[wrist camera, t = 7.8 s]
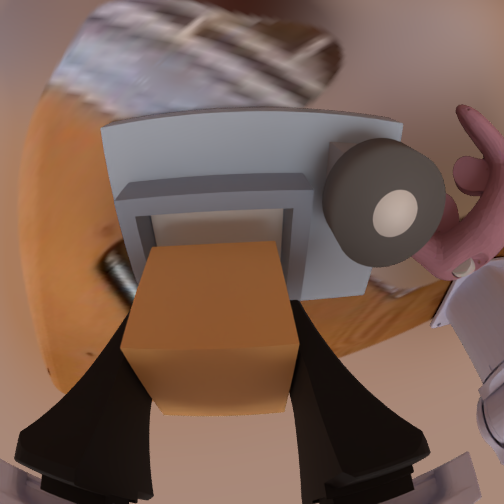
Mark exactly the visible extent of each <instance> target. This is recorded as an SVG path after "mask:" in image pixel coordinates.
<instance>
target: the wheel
mask: <svg viewBox="0 0 504 504" xmlns="http://www.w3.org/2000/svg"><path fill="white" fill-rule="evenodd" d="M445 201H446V192H445V185H444V180H443V178H442V175H441V173H440V171H439V170H438V168H437V166H436V165H435V164H434V163H433V162H432V161H431V160H430V159H429V158H427V157H426V156H424V155H423V154H421V153H419V152H417V151H416V150H414V149H412V148H411V147H409V146H407V145H405V144H403V143H402V142H399V141H397V140H394V139H389V138H374V139H369V140H366V141H363V142H361V143H358V144H357V145H355V146H353V147H351V148H350V149H349V150H348V151H346V152H345V153H344V154H343V155H342V156H341V157H340V158H339V159H338V160H337V162H336V163H335V164H334V166H333V167H332V169H331V170H330V172H329V174H328V177H327V179H326V182H325V185H324V189H323V194H322V207H323V213H324V217H325V219H326V222H327V224H328V226H329V227H330V229H331V231H332V233H333V235H334V236H335V238H336V240H337V242H338V244H339V245H340V247H341V249H342V251H343V252H344V253H345V254H346V255H347V256H348V257H349V258H350V259H351V260H353V261H354V262H356V263H358V264H361V265H364V266H367V267H386V266H390V265H395V264H397V263H400V262H402V261H404V260H406V259H408V258H409V257H411V256H413V255H414V254H415V253H417V252H418V251H419V250H420V249H421V248H422V247H424V245H425V244H426V243H427V242H428V241H429V240H430V238H431V237H432V236H433V234H434V233H435V231H436V229H437V228H438V226H439V223H440V221H441V219H442V216H443V212H444V208H445Z"/></svg>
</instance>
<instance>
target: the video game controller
mask: <svg viewBox="0 0 504 504" xmlns="http://www.w3.org/2000/svg"><path fill="white" fill-rule="evenodd" d="M456 114H457V116H458V119H459V121H460V123H461V125H462V126H463V128H464V129H465V131H466V132H467V134H468V135H469V137H470V138H471V139H472V141H473V142H474V144H475V145H476V146H477V148H478V149H479V150H480V151H481V153H482V154H483V157H484V158H483V159H477V158H474V157H470V156H463V157H461V158H459V159H458V160H457V161H456V163H455V165H454V168H453V177H454V180H455V183H456V185H457V187H458V189H459V190H460V191H461V192H463V193H464V194H467V195H470V196H480V199H479V200H478V202H477V203H476V205H475V206H474V207H473V209H472V210H471V211H470V212H469V213H468V214H467V216H466V217H465V218H464V219H463V220H462V221H461V222H460V221H459V214H458V209H457V206H456V203H455V202H454V200H453V199H452V197H451V196H450V195H448V194H446V201H445V208H444V212H443V216H442V219H441V221H440V223H439V226H438V228H437V229H436V231H435V233H434V234H433V236H432V237H431V238H430V240H429V241H428V242H427V243H426V244H425V245H424V247H422V248H421V249H420V250H419V251H418V252H417V253H415V254H414V255H413V256H412V257H413V258H414V259H415V260H416V261H417V262H418V263H420V264H421V265H422V266H423V267H424V268H426V269H427V270H428V271H429V272H430V273H431V274H432V275H434V276H435V277H437V278H439V279H442V280H449V281H451V280H457V279H460V278H462V277H465V276H467V275H470V274H472V273H473V272H474V271H476V270H478V269H479V268H481V267H483V266H484V265H485V264H487V263H488V262H489V261H490V260H492V259H493V258H494V257H495V256H496V255H497V254H498V253H499V252H500V251H501V249H502V248H503V247H504V137H503V136H502V135H501V134H500V133H499V131H498V130H497V129H496V128H495V127H494V126H493V125H492V124H491V123H490V122H489V121H488V120H487V119H486V118H485V117H484V116H483V115H482V114H481V113H479V112H478V111H477V110H475V109H473V108H472V107H469V106H466V105H459V106H457V108H456Z"/></svg>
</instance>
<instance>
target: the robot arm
mask: <svg viewBox="0 0 504 504" xmlns="http://www.w3.org/2000/svg"><path fill="white" fill-rule="evenodd" d="M290 304H291V308H292V313H293V317H294V321H295V326H296V330H297V334H298V339H299V343H300V344H299V349H298V354H297V358H296V363H295V368H294V372H293V377H292V381H291V386H290V390H289V393H290V397H291V402H292V406H293V412H294V418H295V426H296V435H297V444H298V454H299V465H300V478H301V497H302V504H316V503H319V504H474V503H475V502H477V501H478V500H479V499H481V497H482V496H481V493H480V488H479V485H478V481H477V477H476V474H475V470H474V467H473V464H472V461H471V457H470V454H469V452H465V453H464V454H462V455H460V456H458V457H456V458H455V459H453V460H451V461H449V462H447V463H445V464H443V465H441V466H439V467H437V468H435V469H433V470H431V471H429V472H427V473H424V474H422V475H420V476H418V477H416V478H414V479H412V477H411V473H413V472H414V470H413V466H412V464H414V463H416V462H418V461H420V460H422V459H424V458H425V457H427V456H428V455H429V454H430V449H429V446H428V443H427V440H426V438H425V436H424V434H423V432H422V431H421V430H420V429H418V428H416V427H415V426H413V425H412V424H410V423H409V422H407V421H406V420H404V419H403V418H401V417H400V416H398V415H397V414H396V413H394V412H393V411H392V410H390V409H389V408H387V406H385V405H384V404H383V403H382V402H381V401H380V400H378V399H377V398H376V397H375V396H373V394H371V393H370V392H369V391H368V390H367V389H366V388H365V387H364V386H363V385H362V384H361V383H360V382H359V381H358V380H357V379H356V378H355V377H354V376H353V375H352V374H351V373H350V372H349V371H348V369H347V368H346V367H345V366H344V365H343V364H342V363H341V361H340V360H339V359H338V358H337V356H336V355H335V354H334V353H333V351H332V350H331V349H330V347H329V346H328V345H327V343H326V342H325V341H324V339H323V338H322V336H321V335H320V334H319V332H318V331H317V329H316V328H315V326H314V325H313V323H312V322H311V320H310V318H309V317H308V315H307V313H306V312H305V310H304V308H303V307H302V305H301V303H300V301H298V300H290ZM130 311H131V310H130ZM129 314H130V312H129V313H128V314H127V316H126V317H125V319H124V320H123V322H122V323H121V325H120V326H119V328H118V329H117V331H116V332H115V334H114V335H113V337H112V338H111V339H110V341H109V342H108V344H107V345H106V347H105V348H104V349H103V351H102V352H101V354H100V355H99V356H98V358H97V359H96V360H95V362H94V363H93V364H92V366H91V367H90V368H89V369H88V371H87V372H86V373H85V374H84V375H83V377H82V378H81V379H80V380H79V381H78V382H77V383H76V385H75V386H74V387H73V388H72V389H71V390H70V391H69V392H68V393H67V394H66V395H65V396H64V397H63V398H62V399H61V400H60V401H59V402H58V403H57V404H56V405H55V406H53V407H52V408H51V409H50V410H49V411H48V412H47V413H45V414H44V415H43V416H42V417H40V418H39V419H38V420H37V421H35V422H34V423H33V424H31V425H30V426H28V427H27V428H25V429H24V430H22V431H21V432H20V434H19V438H18V443H17V447H16V453H15V457H14V459H15V461H16V462H18V463H20V464H22V465H24V466H26V467H28V468H30V469H32V470H34V471H36V472H38V473H40V474H42V479H40V478H38V477H36V476H33V475H31V474H29V473H27V472H25V471H23V470H21V469H19V468H16V467H14V466H12V465H11V464H9V463H7V462H5V461H4V460H2V459H0V504H129V502H132V503H137V500H138V499H142V500H149V499H151V498H152V497H153V496H154V494H153V488H152V480H151V470H150V455H149V454H150V453H149V424H150V423H149V422H150V409H151V403H152V398H151V396H150V395H149V393H148V392H147V390H146V389H145V387H144V386H143V384H142V383H141V381H140V380H139V378H138V377H137V375H136V373H135V372H134V370H133V369H132V367H131V365H130V364H129V362H128V360H127V359H126V357H125V355H124V354H123V352H122V350H121V349H120V346H121V343H122V339H123V335H124V332H125V328H126V325H127V321H128V318H129ZM448 324H451V326H452V327H453V329H454V330H455V332H456V334H457V336H458V337H459V339H460V341H461V343H462V344H463V346H464V348H465V350H466V352H467V353H468V355H469V357H470V359H471V361H472V363H473V365H474V367H475V369H476V371H477V373H478V375H479V377H480V378H481V381H482V383H483V384H484V385H483V386H482V387H481V388H479V390H478V391H479V393H480V396H481V397H480V398H479V401H478V404H477V424H478V428H479V431H480V433H481V435H482V437H483V439H484V440H485V441H486V443H488V444H489V445H490V446H491V447H492V448H493V449H494V451H495V453H496V454H497V456H498V458H499V460H500V462H501V464H502V465H504V257H500V258H493V259H492V260H490V261H489V262H488V263H487V264H485V265H484V266H483V267H481V268H479V269H478V270H476V271H474V272H473V273H472V274H470V275H467V276H465V277H462V278H460V279H457V280H453V282H452V284H451V286H450V288H449V290H448V292H447V294H446V296H445V298H444V300H443V302H442V304H441V306H440V307H439V309H438V311H437V313H436V315H435V316H434V318H433V320H432V322H431V323H430V326H431V328H437V327H440V326H444V325H448Z"/></svg>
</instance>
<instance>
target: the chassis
mask: <svg viewBox="0 0 504 504" xmlns="http://www.w3.org/2000/svg"><path fill="white" fill-rule="evenodd" d="M402 128H403V123H401V122H398V121H396V120H393V119H391V118H387V117H382V116H376V115H368V114H361V113H352V112H344V111H333V110H321V109H305V108H277V107H249V108H221V109H205V110H193V111H182V112H173V113H165V114H157V115H150V116H143V117H137V118H131V119H125V120H120V121H115V122H111V123H109V124H107V125H105V126H104V127H102V128H101V135H102V141H103V147H104V153H105V159H106V164H107V169H108V174H109V179H110V184H111V188H112V193H113V197H114V204H115V208H116V212H117V216H118V220H119V224H120V228H121V232H122V235H123V239H124V242H125V246H126V249H127V253H128V256H129V259H130V262H131V266H132V269H133V272H134V275H135V278H136V281H137V284H138V286H139V283H140V280H141V277H142V274H143V271H144V268H145V265H146V262H147V259H148V256H149V254H150V251H151V248H152V247H159V246H178V245H197V244H217V243H238V242H260V241H275V242H276V246H277V250H278V254H279V258H280V262H281V266H282V270H283V274H284V279H285V283H286V287H287V291H288V295H289V300H298V301H302V300H314V299H326V298H337V297H347V296H357V295H364V292H365V289H366V286H367V283H368V280H369V277H370V274H371V270H372V267H367V266H364V265H361V264H358V263H356V262H354V261H353V260H351V259H350V258H349V257H348V256H347V255H346V254H345V253H344V252H343V251H342V249H341V247H340V245H339V244H338V242H337V240H336V238H335V236H334V235H333V233H332V231H331V229H330V227H329V226H328V224H327V222H326V219H325V217H324V213H323V207H322V194H323V189H324V185H325V182H326V179H327V177H328V174H329V172H330V170H331V169H332V167H333V166H334V164H335V163H336V162H337V160H338V159H339V158H340V157H341V156H342V155H343V154H344V153H345V152H346V151H348V150H349V149H350V148H351V147H353V146H355V145H357V144H358V143H361V142H363V141H366V140H369V139H374V138H389V139H394V140H397V141H399V142H401V136H402Z"/></svg>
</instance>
